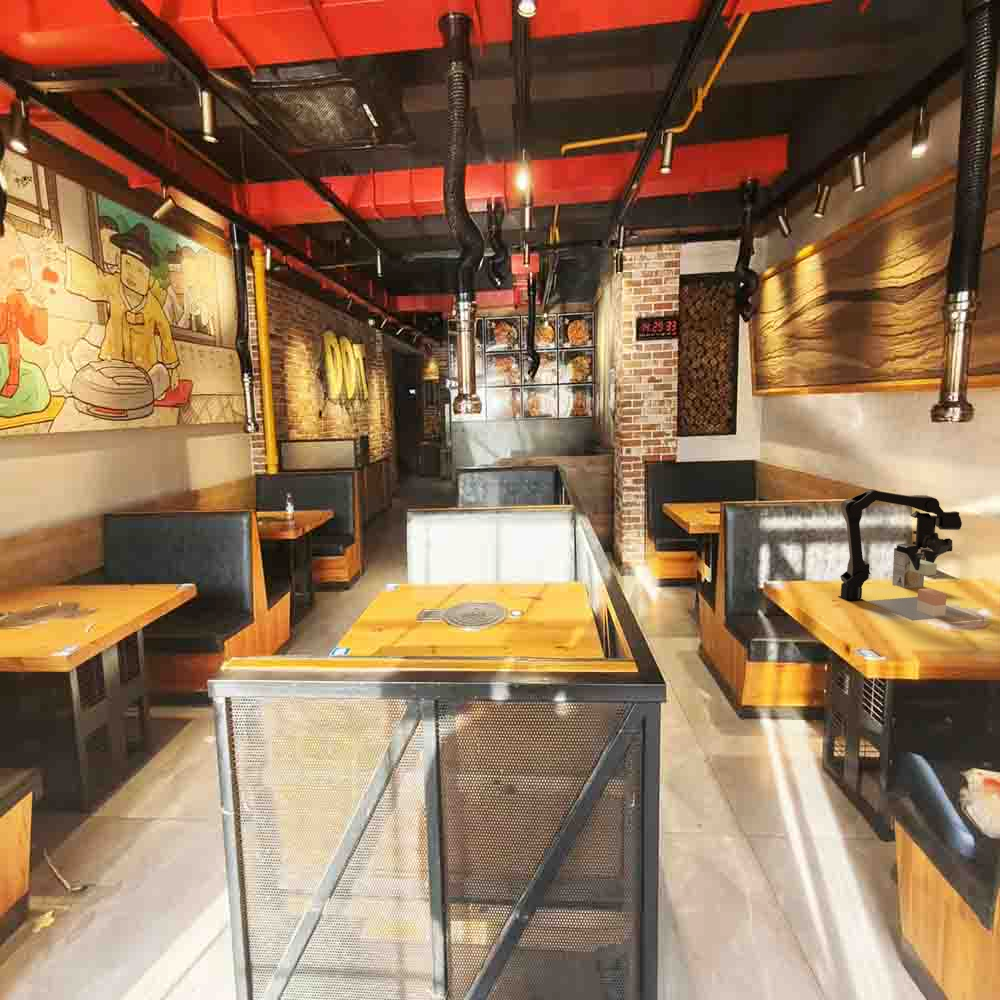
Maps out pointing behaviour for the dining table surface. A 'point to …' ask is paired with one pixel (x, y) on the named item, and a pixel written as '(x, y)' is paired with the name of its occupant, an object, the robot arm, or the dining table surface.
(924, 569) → the sage brick
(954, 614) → the baseplate
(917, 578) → the coffee box
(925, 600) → the terracotta brick
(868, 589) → the dining table surface
